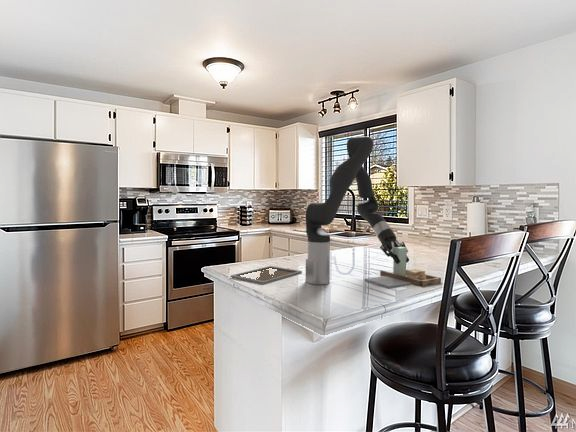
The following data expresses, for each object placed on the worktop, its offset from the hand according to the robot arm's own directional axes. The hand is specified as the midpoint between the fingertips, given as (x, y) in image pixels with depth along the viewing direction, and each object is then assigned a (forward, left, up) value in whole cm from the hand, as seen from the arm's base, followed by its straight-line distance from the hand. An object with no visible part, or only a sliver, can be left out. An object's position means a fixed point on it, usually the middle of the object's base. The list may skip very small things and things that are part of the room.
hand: (403, 262), depth 159 cm
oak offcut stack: (0, -8, -7) cm, 10 cm away
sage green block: (0, +2, -7) cm, 7 cm away
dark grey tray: (-51, +32, -7) cm, 61 cm away
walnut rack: (0, -4, -7) cm, 8 cm away
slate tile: (-14, -4, -7) cm, 16 cm away
